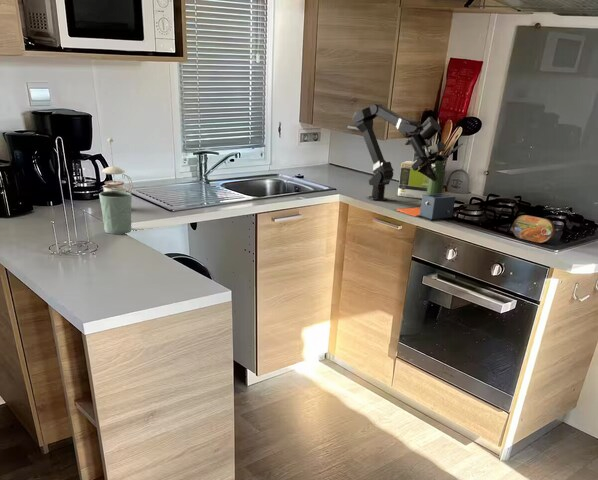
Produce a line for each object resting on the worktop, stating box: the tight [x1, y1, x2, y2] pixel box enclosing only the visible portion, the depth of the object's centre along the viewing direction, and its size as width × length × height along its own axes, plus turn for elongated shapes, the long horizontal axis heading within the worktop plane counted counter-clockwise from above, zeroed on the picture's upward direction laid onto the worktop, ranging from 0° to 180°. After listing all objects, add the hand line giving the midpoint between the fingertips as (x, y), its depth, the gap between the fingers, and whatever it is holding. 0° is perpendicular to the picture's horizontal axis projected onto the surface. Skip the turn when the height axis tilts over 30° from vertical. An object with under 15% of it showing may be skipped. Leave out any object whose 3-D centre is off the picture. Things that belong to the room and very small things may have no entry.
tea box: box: [397, 160, 433, 200], centre depth 278 cm, size 15×10×15 cm, turn 65°
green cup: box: [98, 191, 133, 235], centre depth 198 cm, size 10×10×12 cm
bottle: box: [427, 161, 447, 194], centre depth 249 cm, size 6×6×14 cm
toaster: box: [418, 192, 456, 222], centre depth 242 cm, size 8×12×9 cm, turn 122°
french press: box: [101, 137, 133, 193], centre depth 223 cm, size 10×12×25 cm
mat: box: [396, 206, 421, 217], centre depth 251 cm, size 12×14×1 cm
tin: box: [512, 214, 556, 244], centre depth 217 cm, size 15×3×8 cm, turn 45°
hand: (439, 179), depth 248 cm, fingers closed on bottle, 6 cm apart
